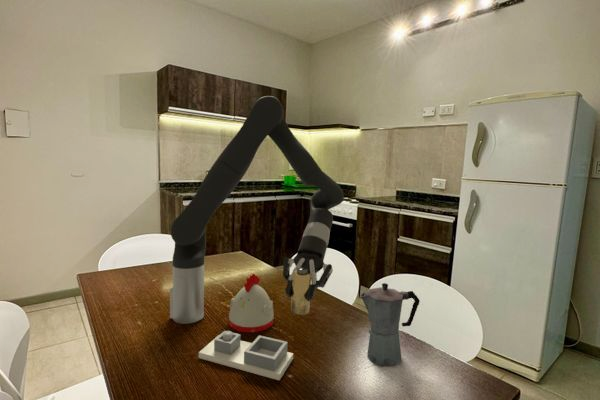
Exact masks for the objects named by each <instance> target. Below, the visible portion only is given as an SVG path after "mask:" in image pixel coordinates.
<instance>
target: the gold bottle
mask: <svg viewBox="0 0 600 400" xmlns="http://www.w3.org/2000/svg"><path fill="white" fill-rule="evenodd" d="M292 272H293V271H292ZM310 285H311V273H310V272H308V269H307V268H304V267H299V268H297V271H294V272H293V279H292V295H291V298H290V299H291V301H290V303H291V304H290V311H291V313H292V314H295V315H303V316H304V315H307V314H309V312H310V302H311V301H307V294H308V290H309V287H310Z"/></svg>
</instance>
